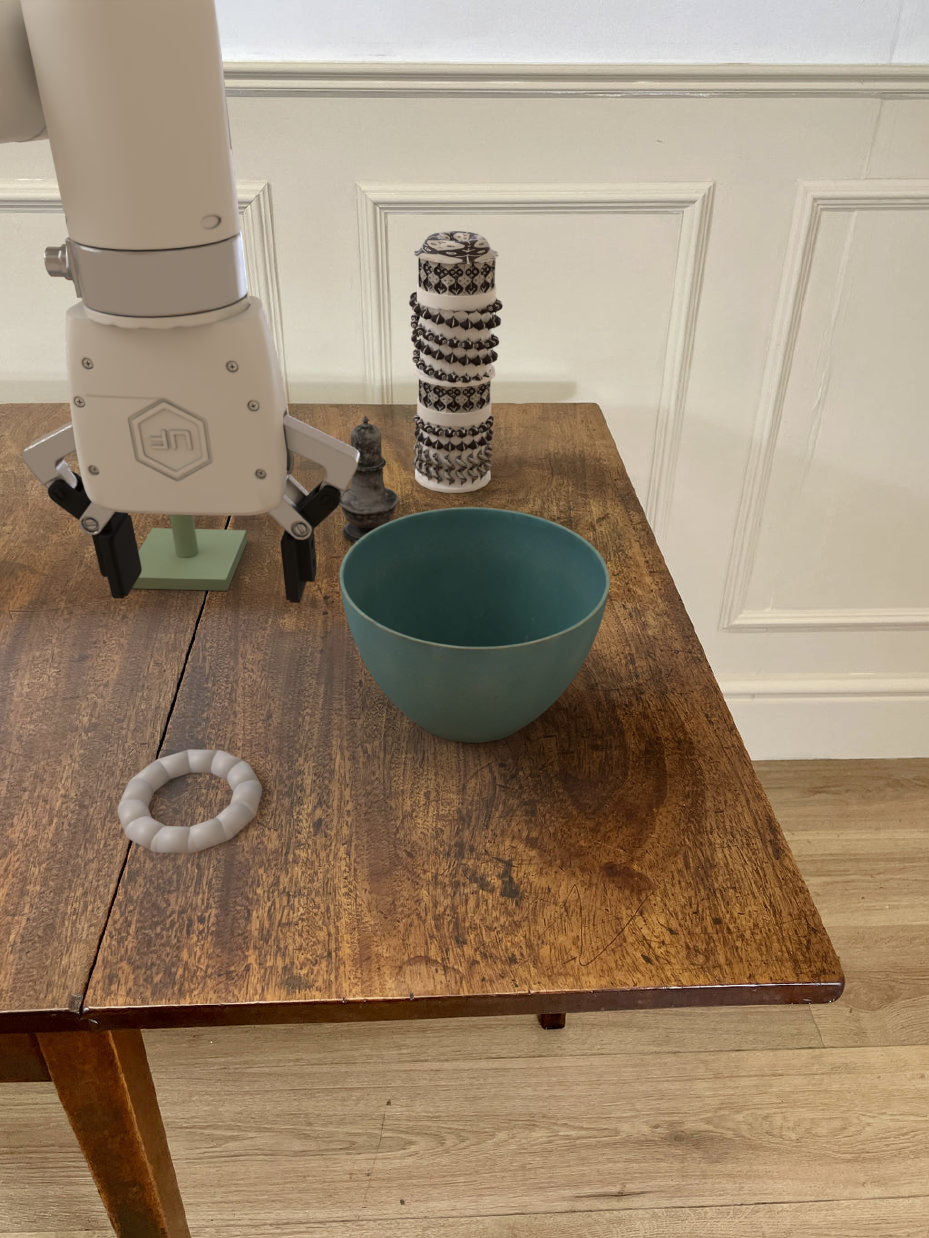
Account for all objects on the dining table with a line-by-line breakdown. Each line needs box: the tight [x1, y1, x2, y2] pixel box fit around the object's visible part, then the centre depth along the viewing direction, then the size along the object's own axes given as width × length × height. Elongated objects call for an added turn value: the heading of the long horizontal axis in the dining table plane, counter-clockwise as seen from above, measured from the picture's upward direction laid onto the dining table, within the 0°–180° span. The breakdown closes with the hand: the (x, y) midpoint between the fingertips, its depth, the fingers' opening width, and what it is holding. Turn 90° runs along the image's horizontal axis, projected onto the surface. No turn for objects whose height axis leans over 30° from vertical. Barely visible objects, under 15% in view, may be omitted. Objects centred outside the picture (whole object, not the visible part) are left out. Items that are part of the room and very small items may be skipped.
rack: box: [131, 514, 248, 592], centre depth 83 cm, size 9×9×14 cm
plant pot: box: [338, 506, 611, 744], centre depth 67 cm, size 18×18×12 cm
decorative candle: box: [408, 230, 504, 494], centre depth 97 cm, size 9×9×25 cm
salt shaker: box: [338, 415, 399, 544], centre depth 89 cm, size 6×6×12 cm
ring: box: [116, 748, 263, 854], centre depth 61 cm, size 9×9×2 cm
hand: (213, 587), depth 53 cm, fingers open, 9 cm apart
